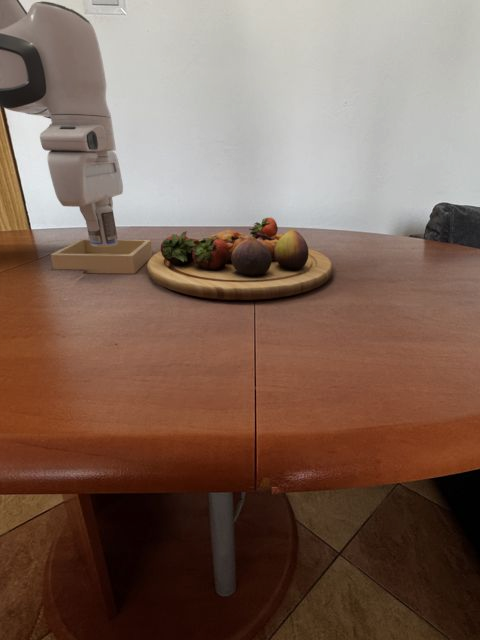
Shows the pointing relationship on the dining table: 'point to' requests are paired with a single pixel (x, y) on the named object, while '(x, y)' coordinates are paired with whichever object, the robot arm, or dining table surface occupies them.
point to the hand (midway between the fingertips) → (101, 227)
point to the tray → (104, 257)
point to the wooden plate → (240, 264)
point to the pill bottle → (104, 226)
